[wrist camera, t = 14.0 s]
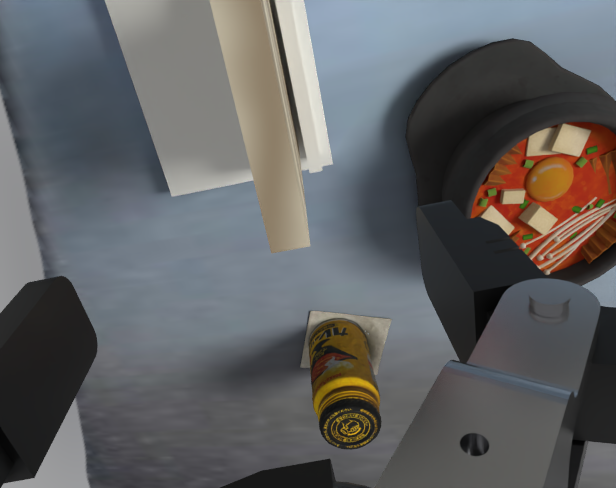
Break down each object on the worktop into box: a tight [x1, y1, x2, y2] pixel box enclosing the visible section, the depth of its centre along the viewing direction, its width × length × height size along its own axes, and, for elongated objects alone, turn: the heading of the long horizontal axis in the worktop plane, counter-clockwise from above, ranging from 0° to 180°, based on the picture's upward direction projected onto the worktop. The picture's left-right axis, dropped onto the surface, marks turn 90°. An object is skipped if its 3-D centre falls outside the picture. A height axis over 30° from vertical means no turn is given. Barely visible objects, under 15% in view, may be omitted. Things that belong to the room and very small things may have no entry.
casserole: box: [405, 39, 616, 286], centre depth 41 cm, size 25×19×8 cm
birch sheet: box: [210, 0, 310, 253], centre depth 31 cm, size 2×12×18 cm, turn 10°
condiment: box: [300, 311, 392, 449], centre depth 47 cm, size 7×8×12 cm
